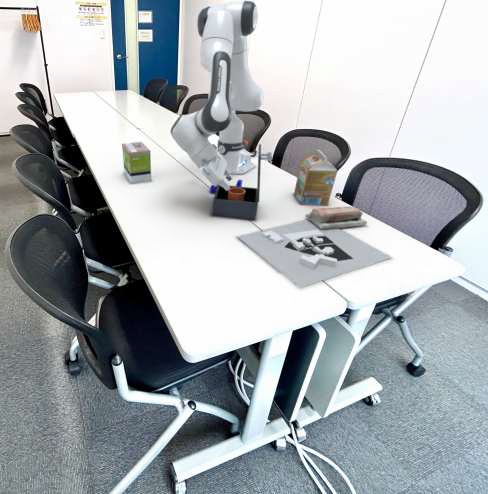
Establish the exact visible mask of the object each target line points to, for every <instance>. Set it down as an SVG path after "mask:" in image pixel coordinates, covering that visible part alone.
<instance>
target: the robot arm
mask: <svg viewBox="0 0 488 494" xmlns="http://www.w3.org/2000/svg"><path fill="white" fill-rule="evenodd" d="M258 21H259V12H258V7H257V4H256V3H255V2H254V1H251V0H244V1H229V2H226V3H221V4H216V5H212V6H205V7H204V8H202V9H201V10H200V12H199V13H198V16H197V21H196V24H197V25H196V26H197V27H196V28H197V33H198V35H199V37H201V43H200V52H199V57H200V59H199V60H200V65H201V67H202V68H203V69H204V70H205V72H208V73H209V74H210V83H209V90H208V95H207V97H208V100H207V102H206V103H205V105H204V106H203V107H202V108H200V110H197V111H195V112H192V113H188V114H181V115H179V117H177V120H175V121H174V122H173V124H172V126H171V127H170V135H171V138H172V139H173V140H174V142H175V143H176V144H177V145H178V147H179V148H180V149H181V151H183V152H185V153H186V154H187V155H188V157H189V159H190V160H191V161H192V162H193V163H194V164H195V166H196V167H197V168H198V169H201V168H202V169H201V172H202V175H204V177H205V178H206V180H207V181H208V182H209V183H210V184H211V186H212V185H213V186H215V187H216V186H217V185H220V186H221V187H223V188H224V189H225V190H226V191H227V190H229V189H230V186H231V185H230V184H229V183H227V182H226V181H228V182H230V181H232V180H233V176H232V175H244V174H245V173H247V172H249V171H251V170H252V169H254V168H255V167H256V164H255V163H254V162H252V157H256V156H257V155H258V154H257V153H258V152H257V150H256V149H255V150H253V153H254V154H251V153H250V152H249V151H247V150H246V149H245V146H247V145H248V144H249V143H248V140H245V139H244V138H243V137H244V129H245V123H244V122H243V120H241V119H240V118H239V117H238V116H237V114H236V112H246V113H247V112H248V113H249V112H256V111H258V109H260V108H261V106H262V105H263V102H264V99H265V97H264V96H265V95H264V91H263V88H261V87H260V86H259V85H258V84H257V83H256V82H255V80H254V79H253V77H252V74H251V72H250V69H249V59H248V57H249V55H248V36H250V35H252V34H253V32H254V31H256V28H257V24H258ZM217 133H218V140H217V146H216V145H215V144H214V143H212V142H210V141H209V139H208V138H209V137H212V136H213V135H216V134H217ZM243 139H244V140H243ZM224 177H225V179H226V181H225V179H224Z"/></svg>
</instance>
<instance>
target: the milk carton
mask: <svg viewBox="0 0 488 494" xmlns="http://www.w3.org/2000/svg"><path fill="white" fill-rule="evenodd" d="M297 173H298V174H297V177H296V178H297V179H296V182H295V186H294V192H293V195H294V197H295V198H296V200H297V201H298V204H299V205H306V206H307V205H309V206H311V205H312V206H328V205H329V202H330V198H331V195H332V192H333V188H334V185H335V182H336V177H337V175H338V169H337V168H336V167H335V166H334V165H333V164H332V163H331V162H330V161H329V160H328V159H327V156H326V155H325V154H324V153H323V152H322V151H321V150H320V149H317V150H316V152H315V153H313V154H310V155H308V156H307V157H305V158H303V159H302V160H301V161H300V165H299V168H298V172H297Z"/></svg>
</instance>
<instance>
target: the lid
mask: <svg viewBox="0 0 488 494" xmlns="http://www.w3.org/2000/svg"><path fill="white" fill-rule="evenodd" d="M257 153H258V154H257V185H256V188H257V202H258V203H260V190H261V163H262V161H263V160H267V161H269V162H271V161H272V160H273V152H271V151H269V152H267V153H262V144H260V143H259V144H258V152H257Z"/></svg>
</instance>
